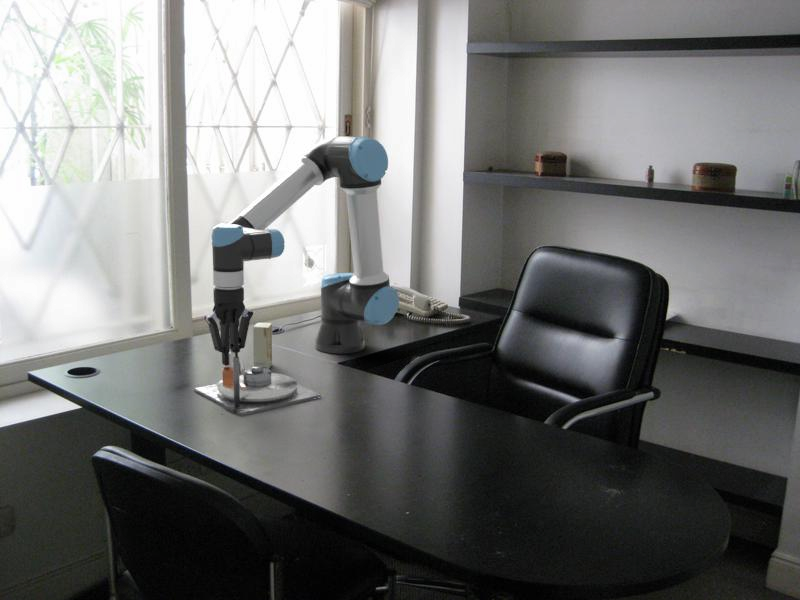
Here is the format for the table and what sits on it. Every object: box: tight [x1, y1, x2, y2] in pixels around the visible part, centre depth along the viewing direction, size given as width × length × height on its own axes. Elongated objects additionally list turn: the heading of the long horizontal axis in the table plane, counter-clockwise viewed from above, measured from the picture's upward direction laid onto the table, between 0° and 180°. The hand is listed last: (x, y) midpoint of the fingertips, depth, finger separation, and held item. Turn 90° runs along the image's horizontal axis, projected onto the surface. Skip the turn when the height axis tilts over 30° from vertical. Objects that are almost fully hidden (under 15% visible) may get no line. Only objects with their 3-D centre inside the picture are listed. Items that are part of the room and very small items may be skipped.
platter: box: [216, 366, 298, 402], centre depth 216 cm, size 20×20×5 cm
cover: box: [243, 365, 272, 388], centre depth 217 cm, size 7×7×4 cm
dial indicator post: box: [224, 356, 248, 415], centre depth 205 cm, size 4×6×13 cm
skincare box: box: [252, 322, 273, 370], centre depth 240 cm, size 6×4×12 cm
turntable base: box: [194, 383, 322, 417], centre depth 217 cm, size 23×23×1 cm
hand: (230, 376), depth 220 cm, fingers closed
